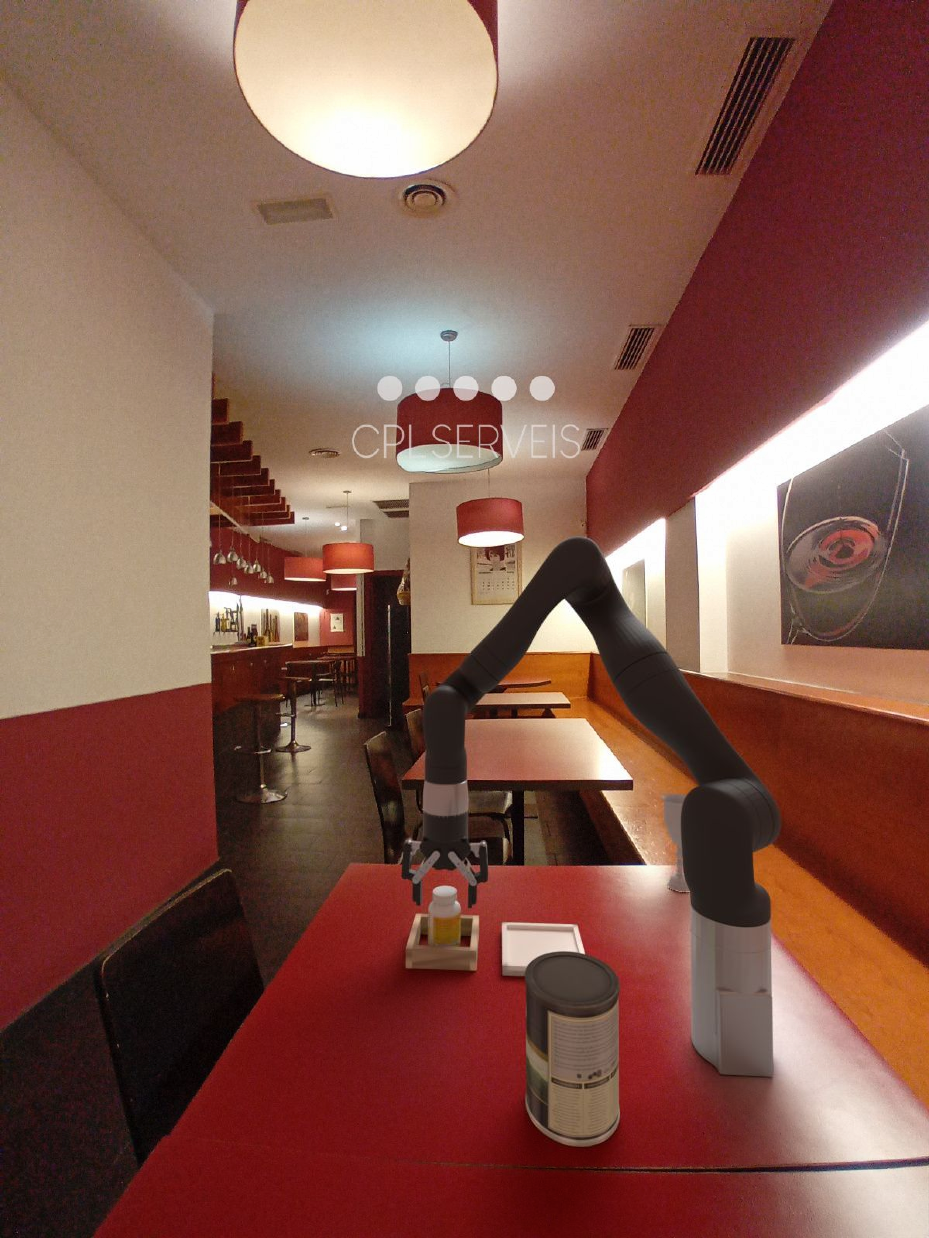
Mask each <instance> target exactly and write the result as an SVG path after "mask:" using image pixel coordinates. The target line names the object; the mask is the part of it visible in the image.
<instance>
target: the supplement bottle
mask: <svg viewBox="0 0 929 1238" xmlns="http://www.w3.org/2000/svg"><path fill="white" fill-rule="evenodd" d="M457 899H458V890H457V888H455V887H454V886H450V885H440V886H437V887H435V888H433V890H432V900H431V902H430V903H429V904H428V911H427V914H428V934H427V946H453V947H461V937H462V936H461V915H462V910H461V909H462V908H461V905H460V902H458V900H457Z"/></svg>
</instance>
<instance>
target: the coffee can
mask: <svg viewBox="0 0 929 1238" xmlns="http://www.w3.org/2000/svg"><path fill="white" fill-rule="evenodd" d="M524 982H525V1029H526V1030H525V1042H526V1043H525V1051H526V1052H525V1055H526V1056H525V1057H526V1058H525V1075H526V1076H525V1081H526V1083H525V1084H526V1085H525V1108H526V1112H527V1113H528V1116H529V1119H530V1120H531V1122H532V1123H533V1125H535V1127H536V1128H537V1129H538V1130H539V1131H540V1132H541V1133H542V1134H543V1135H545V1136H546V1137H548V1138H549V1139H551V1140H552V1141H555V1142H557V1143H559V1144H563V1145H566V1146H570V1147H577V1148H578V1147H581V1148H582V1147H583V1148H585V1147H592V1146H594V1145H595V1146H596V1145H598V1144H601V1143H603V1142H605V1141H606V1140H609V1138H610V1137H611V1136H612V1135H614V1132H615V1131H616V1129H617V1128H618V1125H619V1123H620V1117H621V1113H620V1111H621V1110H620V1103H619V1101H620V1090H619V1088H620V1087H619V1086H620V1083H619V1082H620V1077H619V1076H620V1075H619V1071H620V1069H619V1065H620V1064H619V1063H620V1062H619V1060H620V1057H619V1055H620V1054H619V1053H620V1051H619V1050H620V1048H619V1046H620V1045H619V1041H620V1040H619V1039H620V1038H619V1031H620V1030H619V1028H620V1027H619V1017H620V1016H619V995H620V992H621V991H620V987H621V986H620V985H621V984H620V979H619V976H618V975H617V973H616V971H614V969H613V968H611V966H610V965H608V964H607V962H606V963H605V962H604V961H602V960H600V959H599V958H597V957H595V956H592V955H589V954H586V953H585V954H582V953H578V952H570V951H559V952H551V953H546V954H543V955H540V956H538V957H536V958H535V959H533V960H532V961H531V962H530V963H529V964H528V966H527V968H526V970H525V976H524Z"/></svg>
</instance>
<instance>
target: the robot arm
mask: <svg viewBox="0 0 929 1238" xmlns="http://www.w3.org/2000/svg"><path fill="white" fill-rule="evenodd" d="M608 564H609V563H608V561H607V560H606V558H605V556H604V554H603V552H602V551H601V548H600V547H599V546H598V545H597V543H596V542H595V541H593V539H590V538H588V537H585V536H572V537H569V538H566V539H564V540H563V541H561V542H560V543H558V544H557V545H556V546H555V547H554V548H553V549H552V550H551V551H550V553H549V554H548V556H547V557H546V558H545V560H544V561H543V562H542V564H541V565H540V567H539V568H538V570H537V571H536V572H535V574H534V575H533V577H532V578H531V579H530V581H529V582H528V583H527V585H526V586H525V588H524V589H523V591H521V593H520V595H519V596H518V597H517V598H516V600H515V602H514V603H513V604H512V605H511V606H510V608H509V609H508V610H507V612H506V613H505V614H504V615H503V616H502V618H501V619H500V620H499V621H498V623H497V624H496V625H495V627H493V628H492V629H491V630H490V632H489V633H487V634H486V636H484V638H482V639H481V641H479V642H478V644H477V645H476V646H475V647H474V648H472V650H471V651H470V653H468V654H467V655H466V657H465V658H464V659H463V660H462V662H461V663H460V665H459V666H458V667H457V668H456V669H454V671H452V673H451V674H449V676H447V677H446V678H445V679H444V680H443V681H442V682H441V683H440V684H439V685H438V686H437V687H436V688H435V689H434V690H432V691H431V692H430V693H429V694H428V695H427V696H426V698H425V700H424V703H423V709H422V727H423V730H422V731H423V738H424V745H425V756H424V784H423V791H422V839H421V841H420V840H419V841H417V840H413V838H412V837H407V838H406V839H405V841H404V843H403V848H402V859H401V860H402V863H401V878H402V880H409V881H410V882H411V883H412V897H411V898H412V901H413V903H416V904H415V905H416V906H417V907H421V906H422V904H423V903H422V902H423V877H424V876H425V875H426V874H427V873H428V872H429V870H431V868H433V869H434V870H435V871H441V870H447V871H450V872H451V871H453V872H454V871H455V870H458V871H459V873H460V874H461V876H462V877H464V878H465V879H466V881H467V882H468V887H467V892H468V893H467V909H473V907H474V906H475V905H477V902H478V885H479V884H480V883H487V882H488V881H489V863H488V862H489V861H488V845H487V844H488V843H487V842H486V840H480V842H470V840H469V804H470V801H469V800H470V799H469V789H468V788H469V787H468V755H467V750H466V749H467V748H466V747H465V740H466V717H467V715H468V714H469V713H470V712H471V711H472V710H473V708H474V707H475V706H476V705H477V704H478V703H479V702H480V701H481V700H482V699H483V698H484V696H485V695H486V694H487V693H489V692H491V691H492V690H493V689H495V688H496V687H497V686H498V685H499V684H500V683H501V682H502V681H503V680H504V679H505V678H506V677H507V676H509V674H510V673H511V672H512V671H513V670H514V668H515V667H516V666H518V664H519V663H520V662H521V660H522V659H523V658H524V657H525V656H526V654H527V652H528V650H529V649H530V647H531V645H532V643H533V641H534V639H535V638H536V636H537V633H538V632H539V631H540V628H541V626H542V625H543V624H544V622H545V621H546V619H548V617H549V615H550V614H551V613H552V611H553V610H554V609H555V608H556V607H557V606H558V605H560V603H561V602H563V601H564V600H565V601H566V602H567V603H568V604H569V606H570V607H571V608H572V609H573V610H574V612H575V613H576V615H577V616H578V617H579V618H580V620H581V621H582V623H583V624H584V625H585V627H586V628H587V630H588V631H589V633H590V635H591V636H592V638H593V640H594V643H595V645H596V649H597V651H598V654H599V657H600V659H601V662H602V664H603V667H604V669H605V671H606V672H607V675H608V677H609V679H610V681H611V683H612V685H613V686H614V688H615V689H616V692H617V693H618V695H619V696H620V699H621V700H622V702H623V703H624V705H625V706H626V708H627V710H628V711H629V712H630V713H631V715H632V716H633V717H634V718H635V719H636V720H637V721H638V722H639V723H640V724H641V725H642V726H643V727H644V728H645V729H647V730H648V731H649V732H650V733H652V734H653V735H654V736H655V737H657V738H658V739H659V740H660V741H661V742H663V743H664V744H665V745H666V746H668V748H670V749H671V750H672V751H673V752H675V754H676V756H678V757H679V758H680V759H681V760H682V762H683V763H684V765H685V766H686V768H688V770H689V772H690V773H691V775H692V776H693V778H694V779H695V781H696V783H697V784H698V785H697V786H695V787H693V788H692V789H691V790H689V791H688V792H687V794H686V797H685V799H684V802H683V805H682V810H681V843H682V862H683V866H682V872H683V873H684V877H685V881H686V884H687V886H688V888H689V891H690V892H689V897H690V898H689V899H690V901H689V902H690V1008H691V1009H690V1011H691V1012H690V1013H691V1014H690V1016H691V1018H690V1019H691V1020H690V1021H691V1026H690V1027H691V1028H690V1029H691V1042H692V1045H693V1047H694V1049H695V1051H697V1053H698V1054H699V1055H700V1056H701V1057H702V1058H703V1059H705V1060H706V1061H707V1062H709V1063H710V1064H712V1065H713V1066H714V1067H715V1068H716V1070H717V1071H718V1073H719V1074H721V1075H728V1076H729V1075H730V1076H731V1075H732V1076H749V1077H750V1076H751V1077H752V1076H753V1077H774V1037H773V1036H774V1027H773V1025H774V1022H773V1019H774V1017H773V983H772V979H773V978H772V977H773V976H772V972H773V971H772V913H771V912H772V906H771V904H772V903H771V902H772V901H771V896H770V894H769V892H768V891H767V889H766V888H764V886H762V885H761V884H760V883H758V882H756V881H755V871H754V870H755V869H754V868H755V867H754V853H756V852H758V851H760V850H762V849H765V848H767V847H769V846H770V845H772V844H773V843H774V842H775V841H776V840H777V839H778V837H779V836H780V834H781V831H782V830H781V829H782V817H781V812H780V810H779V806H778V804H777V802H776V800H775V798H774V797H773V795H772V794H771V792H770V790H769V789H768V788H767V786H766V785H765V783H763V782H762V781H761V778H759V776H757V774H756V773H755V772H754V771H753V769H752V768H751V767H750V766H749V765H748V763H747V762H746V761H745V760H744V759H743V758H742V756H741V755H740V754H739V752H738V751H737V750H736V749H735V748H734V747H733V745H732V744H731V742H730V741H729V740H728V739H727V738H726V736H725V735H724V734H723V733H722V731H721V730H720V728H719V727H718V725H717V723H716V722H715V721H714V720H713V718H712V716H711V715H710V713H709V712H708V710H707V708H706V707H705V706H704V704H703V703H702V701H701V700H700V699H699V698H698V696H697V695H696V693H695V692H694V690H693V689H692V687H691V686H690V684H689V682H688V681H687V679H686V677H685V675H684V674H683V672H682V671H681V669H680V667H679V666H678V665H677V664H676V662H675V660H673V657H672V656H671V655H670V653H669V652H668V650H666V647H664V646H663V644H662V643H661V642H660V640H659V639H658V638H657V637H656V636H655V635H654V634H653V632H651V630H649V628H648V627H646V626H645V624H644V623H643V622H641V621H640V619H639V618H637V617H636V615H635V614H633V612H632V610H631V609H630V608H629V606H628V604H627V602H626V600H625V599H624V597H623V595H622V593H621V591H620V589H619V587H618V586H617V583H616V581H615V579H614V576H613V574H612V572H611V569H610V567H609V565H608ZM417 850H420V852H421V854H422V855H423V857H424V859H423V860H422V862H421V863H420V865H419V866H418V867H417V868H416V869H412V860H413V856H415V855H416V852H417ZM471 852H473V854H474V856H475V857H476V858H479V871H477V872H476V871H475V869H474V868H473V867H472V865H471V862H470V861H469V859H468V858H467V857H468V855H469V854H470V853H471ZM473 905H474V906H473Z"/></svg>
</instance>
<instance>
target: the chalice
mask: <svg viewBox="0 0 929 1238" xmlns="http://www.w3.org/2000/svg"><path fill="white" fill-rule="evenodd" d="M686 795H687V794H686ZM686 795H685V794H682V793H681V794H679V793H667V794H663V795H661V799H662V801H663V814H664V815H663V817H664V818H663V821H664V824H665V828H666V830H667V833H668V835H669V837H670V839H671V843H673V844H675V845H676V847H677V849H676V852H675V855H676V858H677V859H676V861H675V862H674V863H675V865H676V868H677V869H676V872H674V873H672V874H671V875H670V876H669V879H668V881H667V884H666V887H667V886H669V888H671V889H672V890H671V889H670V890H671V891H673V890H678V891H682V892H683V891H684V892H686V891H689V888H688V886H687V884H686V881H685V877H684V872H683V859H682V843H681V810H682V805H683V802H684V799H685V797H686ZM669 888H668V889H669Z"/></svg>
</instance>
